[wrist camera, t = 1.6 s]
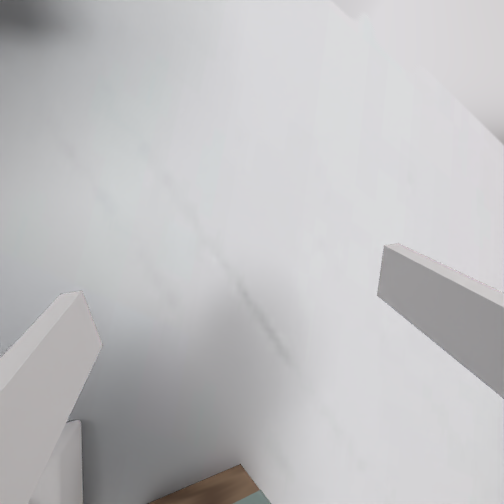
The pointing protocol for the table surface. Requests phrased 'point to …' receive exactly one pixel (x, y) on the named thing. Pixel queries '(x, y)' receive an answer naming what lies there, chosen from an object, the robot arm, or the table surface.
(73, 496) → the medicine bottle
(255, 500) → the tower top
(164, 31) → the table surface
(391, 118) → the table surface
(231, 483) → the tower base
